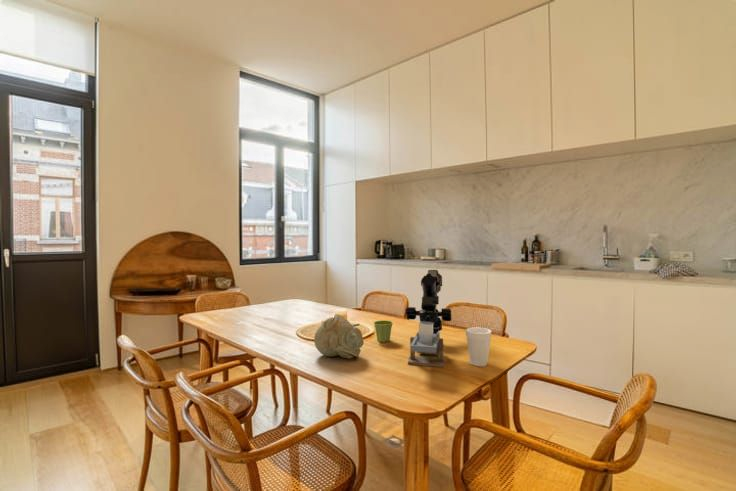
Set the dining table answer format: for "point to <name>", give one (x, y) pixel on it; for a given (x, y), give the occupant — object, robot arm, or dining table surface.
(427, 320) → the robot arm
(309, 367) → the dining table surface
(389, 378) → the dining table surface
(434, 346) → the beam
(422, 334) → the white block
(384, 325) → the plant pot
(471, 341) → the foam cup
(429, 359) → the seesaw stand
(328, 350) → the sculpture
